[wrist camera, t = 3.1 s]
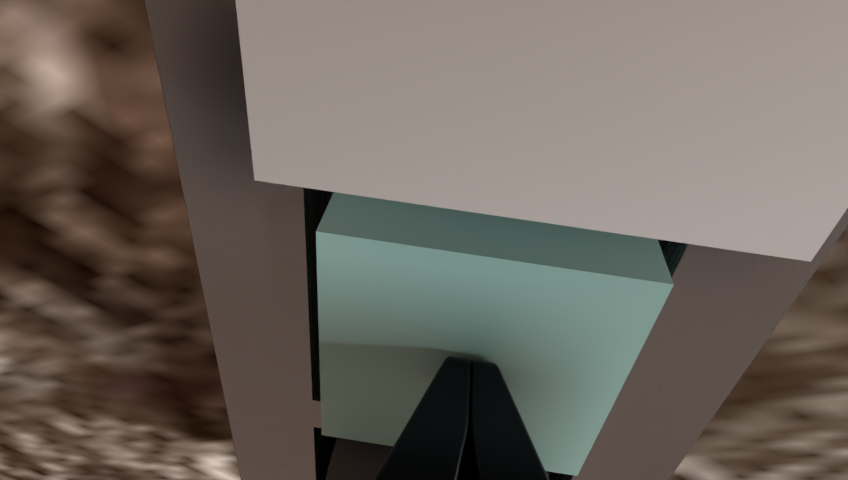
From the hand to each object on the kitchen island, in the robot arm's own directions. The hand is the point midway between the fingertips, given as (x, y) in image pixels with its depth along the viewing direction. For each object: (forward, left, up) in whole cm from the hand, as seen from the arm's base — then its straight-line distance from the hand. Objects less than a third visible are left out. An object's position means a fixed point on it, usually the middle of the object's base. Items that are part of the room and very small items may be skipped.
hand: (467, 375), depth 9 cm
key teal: (0, 0, -4) cm, 4 cm away
